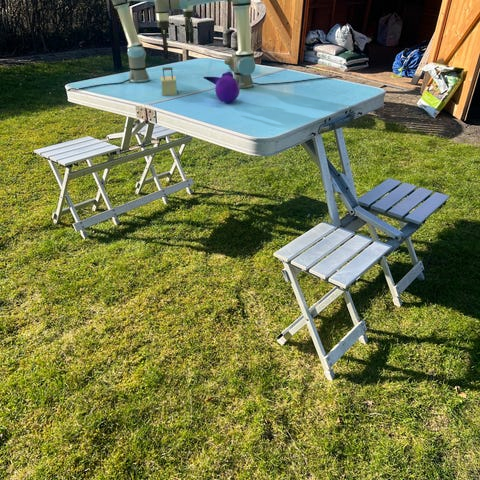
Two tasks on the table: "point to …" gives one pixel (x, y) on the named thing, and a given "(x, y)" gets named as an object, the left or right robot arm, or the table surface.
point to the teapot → (230, 62)
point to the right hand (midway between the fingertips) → (166, 57)
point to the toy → (225, 87)
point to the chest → (169, 88)
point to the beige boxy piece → (168, 78)
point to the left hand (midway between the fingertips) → (189, 42)
